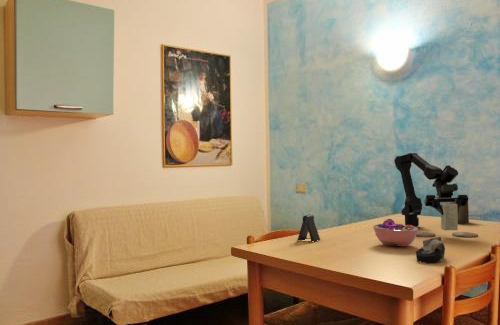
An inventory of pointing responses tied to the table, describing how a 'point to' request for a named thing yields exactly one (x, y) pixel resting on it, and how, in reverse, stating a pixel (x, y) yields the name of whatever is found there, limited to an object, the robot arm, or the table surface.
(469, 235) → the walnut coaster
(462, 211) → the pillar candle
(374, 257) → the table surface
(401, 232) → the cell model
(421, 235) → the coaster
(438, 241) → the caster wheel
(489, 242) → the table surface
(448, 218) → the skincare box
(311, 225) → the black folding stand
